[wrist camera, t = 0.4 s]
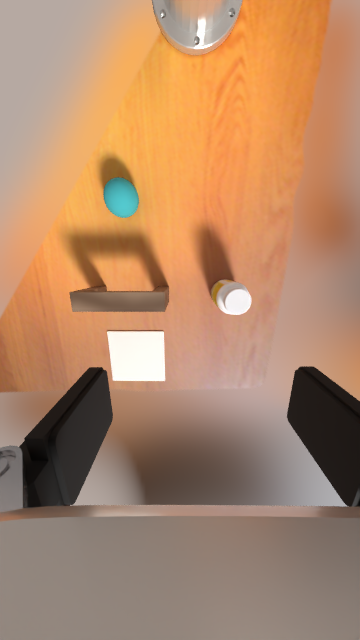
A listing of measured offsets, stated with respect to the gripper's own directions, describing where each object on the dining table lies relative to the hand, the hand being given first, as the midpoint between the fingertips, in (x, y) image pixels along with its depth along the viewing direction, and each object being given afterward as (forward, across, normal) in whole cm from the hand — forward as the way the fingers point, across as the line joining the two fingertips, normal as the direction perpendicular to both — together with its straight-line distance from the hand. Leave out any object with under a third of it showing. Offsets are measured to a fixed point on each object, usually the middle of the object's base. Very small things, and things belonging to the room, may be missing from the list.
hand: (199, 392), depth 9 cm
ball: (+27, +11, -17) cm, 33 cm away
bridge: (+30, +11, -1) cm, 31 cm away
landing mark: (+30, +11, +13) cm, 34 cm away
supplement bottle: (+30, -8, -1) cm, 31 cm away
